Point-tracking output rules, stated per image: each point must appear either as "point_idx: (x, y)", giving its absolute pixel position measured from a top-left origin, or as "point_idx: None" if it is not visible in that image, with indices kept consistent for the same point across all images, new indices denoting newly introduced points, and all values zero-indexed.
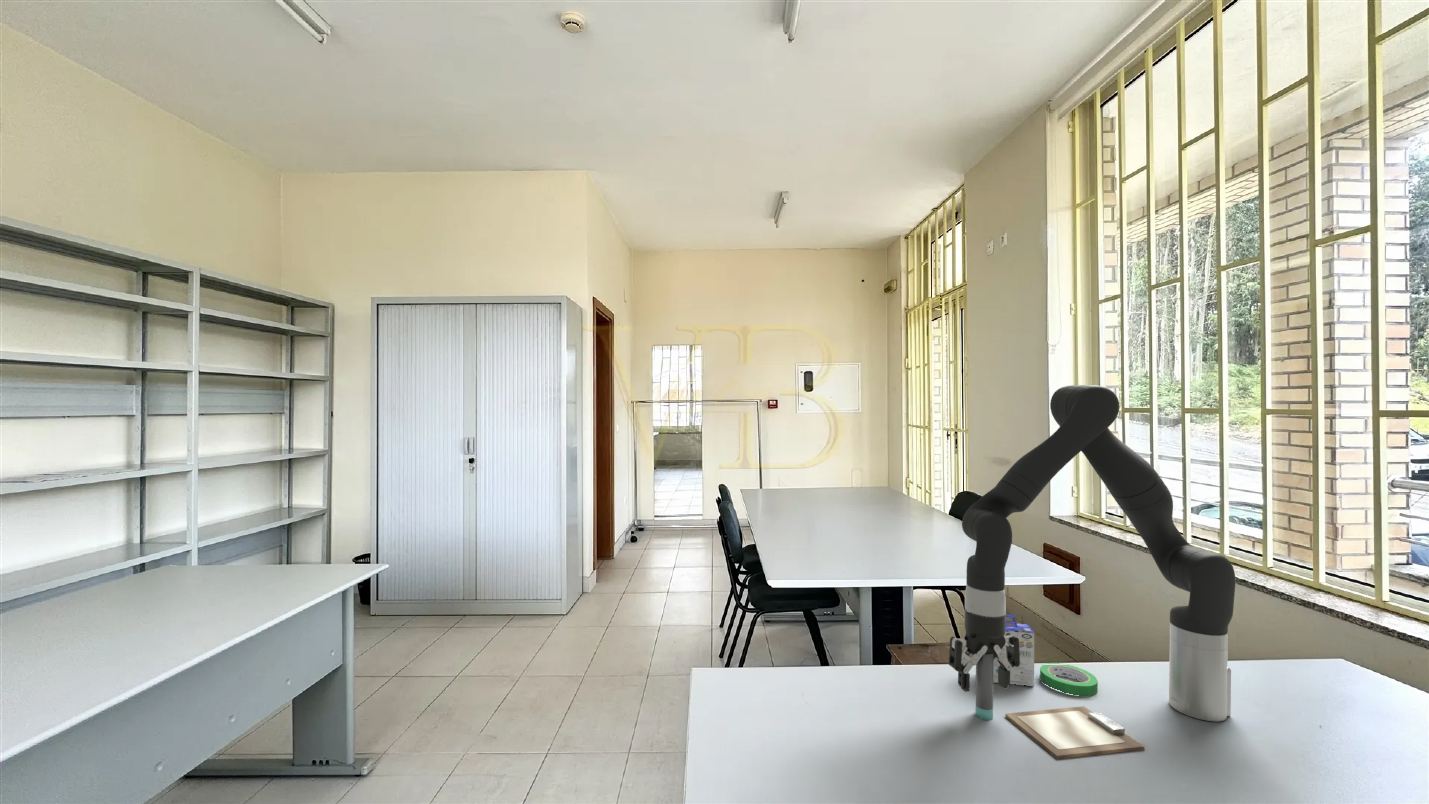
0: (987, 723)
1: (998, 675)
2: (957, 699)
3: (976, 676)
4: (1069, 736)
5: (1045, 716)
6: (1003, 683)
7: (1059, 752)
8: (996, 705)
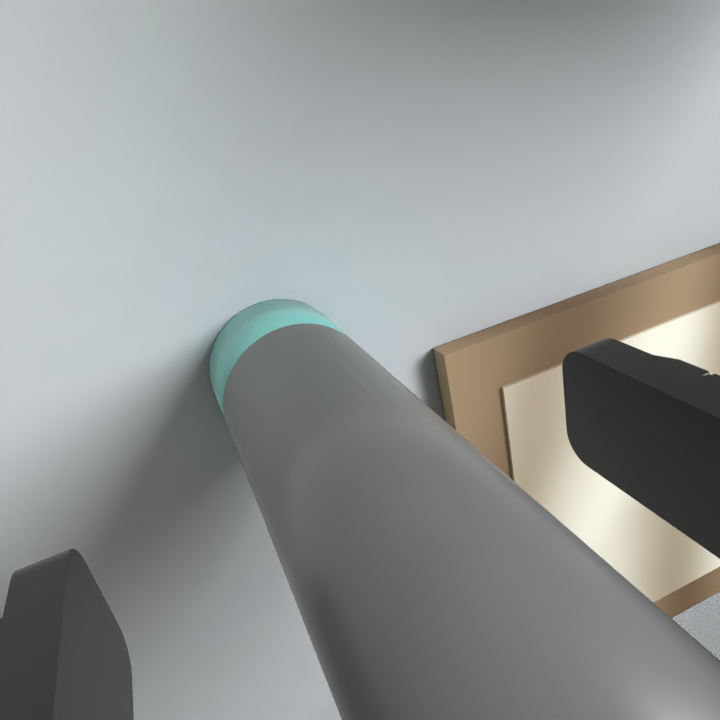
0: None
1: (646, 393)
2: (97, 71)
3: (307, 616)
4: (654, 534)
5: (669, 348)
6: (605, 452)
7: None
8: (443, 173)
